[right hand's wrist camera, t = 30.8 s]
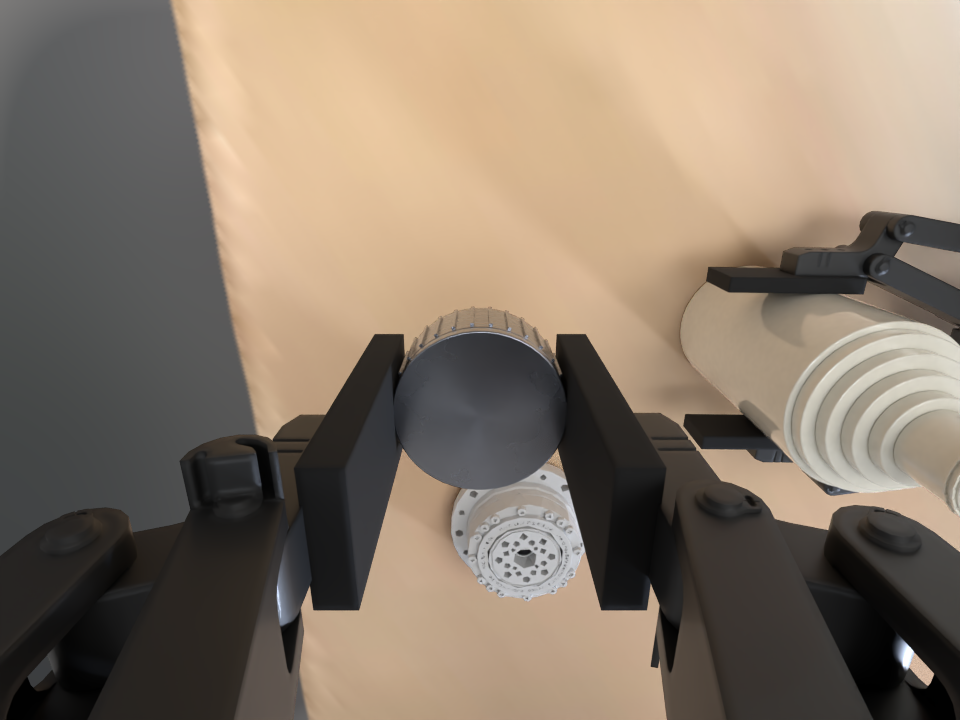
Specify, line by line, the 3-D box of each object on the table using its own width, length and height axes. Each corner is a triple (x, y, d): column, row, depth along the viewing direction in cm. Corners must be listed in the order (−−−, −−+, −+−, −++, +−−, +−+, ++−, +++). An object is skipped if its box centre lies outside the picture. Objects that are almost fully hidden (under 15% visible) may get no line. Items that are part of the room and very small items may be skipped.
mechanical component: (617, 509, 39) (514, 430, 37) (633, 551, 35) (519, 464, 33) (525, 593, 41) (424, 523, 39) (530, 640, 37) (417, 565, 35)
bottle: (760, 239, 33) (1080, 323, 15) (825, 330, 34) (1172, 497, 17) (655, 321, 34) (835, 481, 17) (722, 403, 36) (944, 622, 19)
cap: (383, 425, 15) (369, 464, 13) (428, 283, 13) (419, 303, 12) (526, 467, 15) (532, 511, 13) (583, 334, 14) (599, 362, 12)
